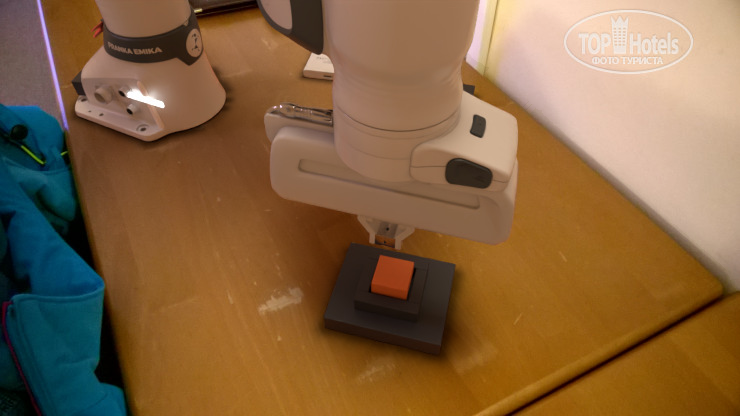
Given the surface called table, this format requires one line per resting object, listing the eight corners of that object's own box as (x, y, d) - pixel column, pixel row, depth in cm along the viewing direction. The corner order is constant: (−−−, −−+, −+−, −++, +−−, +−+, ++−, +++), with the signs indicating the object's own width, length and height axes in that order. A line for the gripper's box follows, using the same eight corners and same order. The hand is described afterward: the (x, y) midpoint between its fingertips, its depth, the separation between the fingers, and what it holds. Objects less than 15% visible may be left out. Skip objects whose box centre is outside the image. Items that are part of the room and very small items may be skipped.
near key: (371, 292, 51) (371, 283, 50) (379, 264, 53) (380, 254, 52) (406, 300, 50) (406, 291, 49) (413, 271, 53) (414, 261, 51)
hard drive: (367, 43, 90) (352, 82, 82) (323, 38, 91) (303, 77, 83) (367, 34, 89) (351, 74, 80) (322, 30, 90) (302, 68, 82)
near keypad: (324, 328, 52) (321, 308, 49) (351, 253, 59) (350, 231, 56) (438, 355, 50) (442, 336, 47) (453, 275, 57) (458, 253, 54)
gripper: (242, 123, 36) (268, 242, 46) (534, 182, 32) (492, 295, 43) (277, 75, 40) (294, 194, 50) (539, 122, 36) (499, 239, 47)
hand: (386, 241), depth 47 cm, fingers closed
